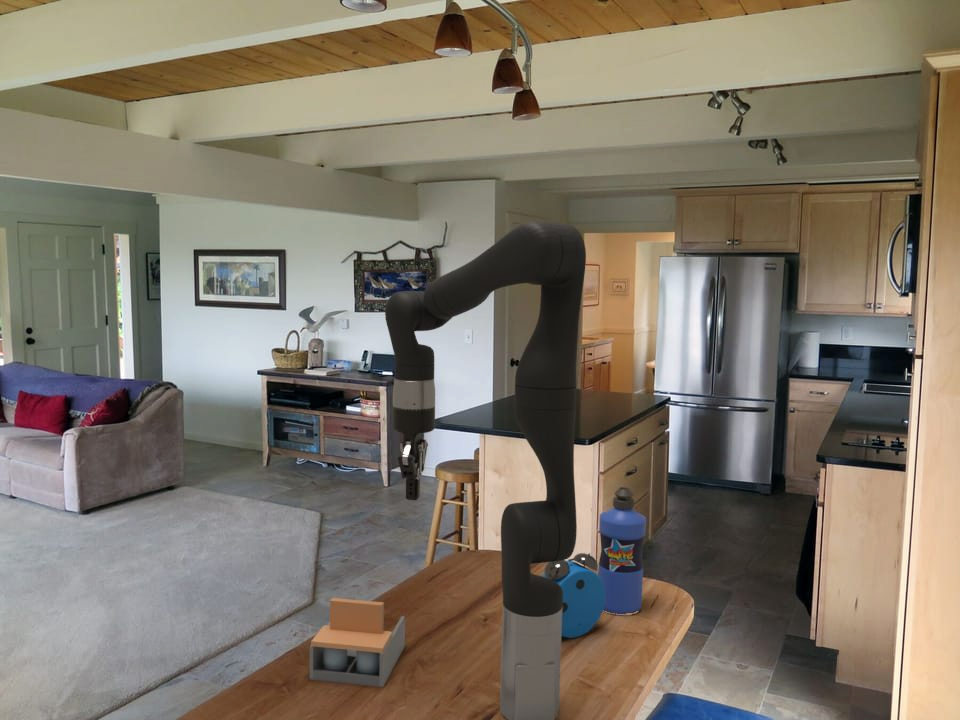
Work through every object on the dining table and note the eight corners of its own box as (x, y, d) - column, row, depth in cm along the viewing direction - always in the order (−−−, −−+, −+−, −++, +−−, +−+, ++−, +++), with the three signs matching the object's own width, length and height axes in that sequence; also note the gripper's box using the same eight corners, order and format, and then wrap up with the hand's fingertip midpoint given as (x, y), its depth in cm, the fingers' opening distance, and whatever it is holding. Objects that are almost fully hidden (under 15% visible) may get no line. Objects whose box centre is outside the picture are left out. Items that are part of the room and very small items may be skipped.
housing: (382, 692, 127) (383, 653, 126) (309, 684, 129) (309, 646, 128) (404, 651, 141) (404, 616, 140) (337, 645, 143) (338, 610, 142)
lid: (382, 653, 127) (382, 618, 126) (311, 646, 128) (311, 611, 128) (392, 636, 133) (392, 603, 132) (323, 629, 134) (323, 597, 134)
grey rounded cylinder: (346, 677, 130) (346, 648, 129) (322, 677, 129) (322, 648, 129) (348, 665, 134) (348, 636, 133) (324, 665, 133) (324, 637, 133)
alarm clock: (585, 619, 156) (588, 545, 154) (605, 631, 151) (608, 555, 149) (531, 633, 149) (533, 557, 148) (550, 647, 144) (553, 568, 142)
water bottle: (599, 594, 168) (603, 480, 165) (643, 600, 166) (649, 484, 163) (593, 612, 159) (598, 492, 156) (640, 619, 157) (646, 496, 154)
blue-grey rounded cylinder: (381, 680, 129) (381, 651, 128) (356, 681, 128) (356, 652, 128) (380, 668, 133) (380, 640, 132) (356, 669, 132) (356, 640, 132)
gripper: (426, 411, 133) (424, 511, 135) (442, 399, 146) (440, 490, 148) (383, 409, 134) (382, 508, 136) (402, 397, 147) (401, 487, 149)
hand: (412, 498), depth 142 cm, fingers closed
